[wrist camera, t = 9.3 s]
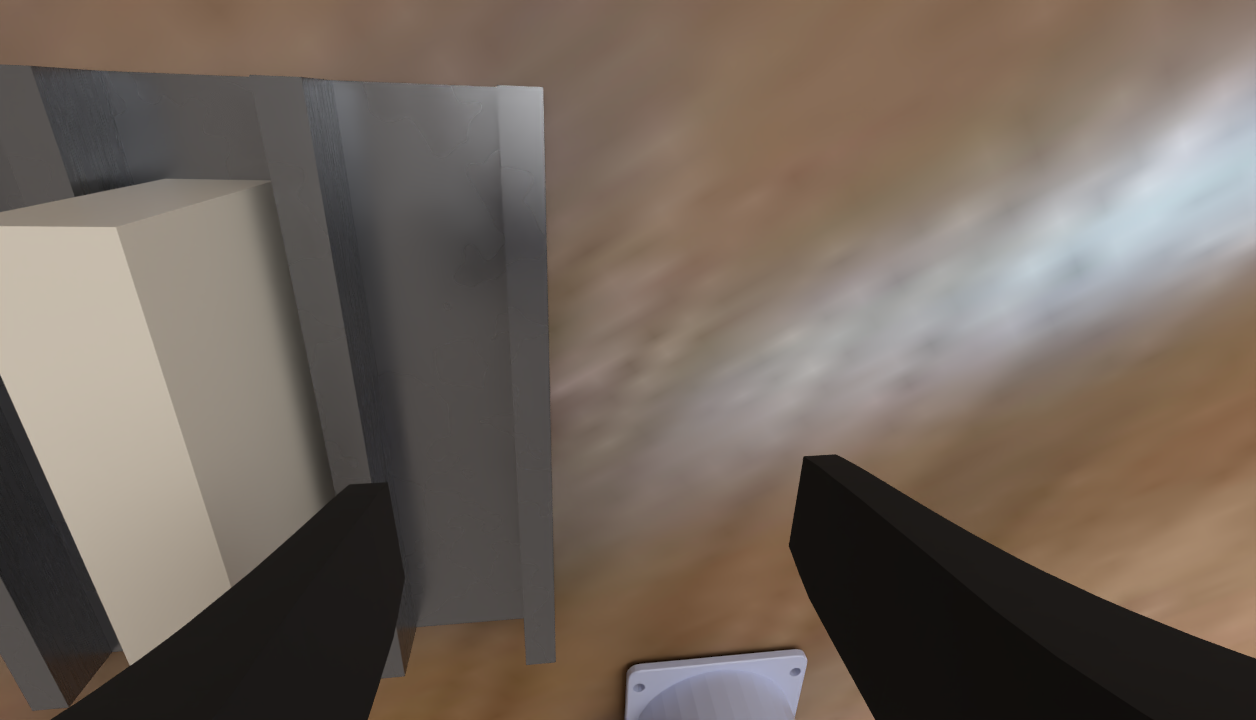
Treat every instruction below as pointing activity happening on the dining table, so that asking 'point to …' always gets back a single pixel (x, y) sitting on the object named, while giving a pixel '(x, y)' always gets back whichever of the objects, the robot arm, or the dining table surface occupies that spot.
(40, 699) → the grey grooved block
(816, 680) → the dining table surface
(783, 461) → the dining table surface
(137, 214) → the clay strip
